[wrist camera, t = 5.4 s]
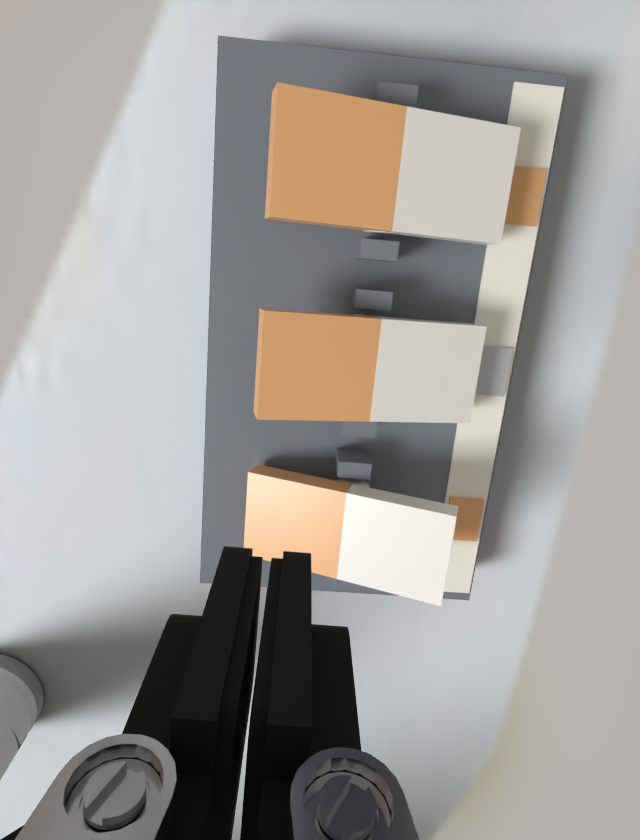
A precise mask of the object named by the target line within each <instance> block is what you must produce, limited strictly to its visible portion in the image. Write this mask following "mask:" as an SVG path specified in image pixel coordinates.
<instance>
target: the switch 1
mask: <svg viewBox="0 0 640 840" xmlns="http://www.w3.org/2000/svg"><path fill="white" fill-rule="evenodd" d="M520 131H521V128H520V127H515V126H510V125H504V124H499V123H494V122H488V121H483V120H478V119H472V118H467V117H461V116H456V115H451V114H445V113H440V112H435V111H429V110H424V109H419V108H413V107H408V106H403V105H397V104H392V103H386V102H381V101H376V100H370V99H365V98H360V97H354V96H349V95H344V94H338V93H333V92H328V91H322V90H317V89H311V88H306V87H301V86H295V85H290V84H285V83H279V82H277V84H276V86H275V88H274V89H273V91H272V101H271V119H270V136H269V153H268V171H267V188H266V205H265V219H270V220H279V221H287V222H296V223H304V224H313V225H321V226H330V227H338V228H347V229H355V230H363V231H364V232H368V233H375V234H386V235H406V236H415V237H423V238H432V239H440V240H449V241H457V242H466V243H474V244H483V245H493V244H501V241H502V235H503V229H504V224H505V218H506V212H507V206H508V200H509V195H510V189H511V183H512V177H513V171H514V166H515V160H516V154H517V148H518V142H519V137H520Z"/></svg>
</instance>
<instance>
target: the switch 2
mask: <svg viewBox="0 0 640 840" xmlns="http://www.w3.org/2000/svg"><path fill="white" fill-rule="evenodd" d="M486 328H487V326H482V325H477V324H472V323H459V322H445V321H431V320H417V319H404V318H390V317H384V316H377V315H367V314H354V315H349V314H335V313H321V312H308V311H294V310H280V309H266V308H259V326H258V343H257V360H256V377H255V395H254V414H255V416H256V418H257V420H305V421H362V422H420V423H470V421H471V415H472V409H473V404H474V398H475V392H476V386H477V380H478V375H479V369H480V363H481V357H482V351H483V346H484V340H485V334H486Z"/></svg>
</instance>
